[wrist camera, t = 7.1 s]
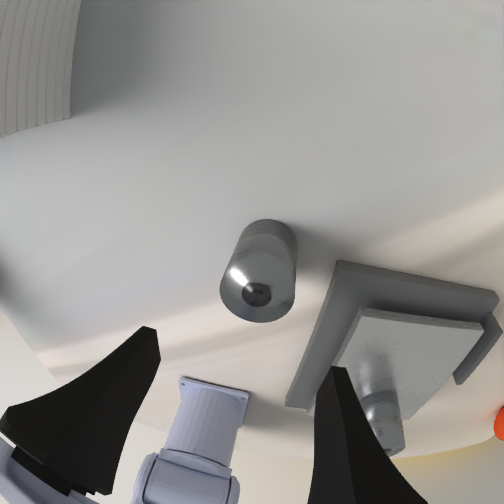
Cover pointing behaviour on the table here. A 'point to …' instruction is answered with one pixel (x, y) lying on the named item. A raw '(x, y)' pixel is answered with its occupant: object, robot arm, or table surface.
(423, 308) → the scale
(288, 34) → the table surface
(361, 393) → the pan
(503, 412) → the clementine
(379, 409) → the spacer
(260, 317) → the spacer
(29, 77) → the light grey rectangular block
